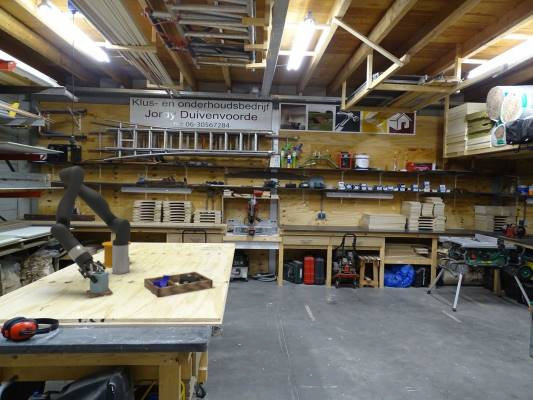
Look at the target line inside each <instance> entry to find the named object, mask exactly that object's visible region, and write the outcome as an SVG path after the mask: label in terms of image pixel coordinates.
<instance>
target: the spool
mask: <svg viewBox="0 0 533 400" xmlns="http://www.w3.org/2000/svg"><path fill="white" fill-rule="evenodd" d="M112 242H113V240H112V241H104V242H102V243H101V246H103V247H104V250H103V251H104V253H103V257H104V262H103V263H102V264H103V265H104V266H105V268H106V269H107V268H109V269H112ZM131 244H132V242H131V241H129V246H130V245H131ZM131 264H132V263H131V261H130V265H131Z"/></svg>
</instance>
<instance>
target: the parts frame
mask: <svg viewBox="0 0 533 400" xmlns="http://www.w3.org/2000/svg"><path fill="white" fill-rule="evenodd" d="M188 275H193V276H194V277H195V278H196V277H197V276H203V277H204V278H203V279H200V282H189V283H188V282H186V283H185V284H181V285H179V284H176V283H179V281H180V277H181V276H188ZM163 276H164V275H162V276H156V277H149V278H144V280H143V282H144V284H143V285H144V288H146V289H147V290H148V291H150V292H151V293H152V294H153V295H155V296H156V297H157V298H160V297H161V298H162V297H167V296H172V295H177V294H184V293H190V292H195V291H200V289H201V290H206V289H212V288H213V282H214V281H213V279H211V278H209V277H207V276H205V275H203V274H201V273H199V272H198V271H191V272H183V273H177V274H171V275H170V274H169V280H168V287H162V288H159V287H158V286H154V285H153V281H162V280H163ZM194 290H195V291H194ZM189 291H190V292H189Z"/></svg>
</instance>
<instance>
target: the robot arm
mask: <svg viewBox="0 0 533 400" xmlns="http://www.w3.org/2000/svg"><path fill="white" fill-rule="evenodd" d="M58 177H59V180H60V181H61V182H62V184H63V185H65V187H67V189H66V191H65V193H64V194H63V196H61V199H60V200H59V202H58V204H57V208H56V211H55V221H56V222H55V224H53V225H51V227H50V229H49V232H50V234H51V236H52V237H53V238H54V239H55V240H56V241H57V243H59V244H60V245H61V246H62V248H63V249H64V251H65V252H67V253H66V254H68V255H69V257H70V258H71V260H72V261H73V262H74V263H75V264H76V265H77V266H78V269H77V271H78V272H79V273H80V275H81V276H82V277H83V278H84V279H89V281H90V280H91V281H92V282H93V283H94V284H95V283H97V282H98V280H97V279H96V277H95V276H94V275H93V273H95V272H106V271H105V270H107V267H105V266H104V265H103V263H102V262H101V261H100V260H97V261H94V256H93V255H92V254H91V253H90V252H89V251H88V249H86V247H85V246H83V245H82V244H81V243H80V241H78V239H77V238H76V237H75V236H74V235H73V234H72V233H71V219H72V216H73V215H72V214H73V210H74V206H75V203H76V200H77V197H78V198H79V199H81V200H82V201H83V202H84V203H85V204H86V205H87V207H88V208H90V209H91V211H93V213H95V214H96V215H97V216H98V217H99V218H100V219H101V220H102V221H103V222H104V223H105V225H106V226H107V227H108V228H109V230H110V231H111V232H112V233H114V234H116V238H115V239H113V240H112V241H113V242H112V268H111V271H112V274H115V275H123V274H127V273H130V266H131V264H130V262H131V261H130V260H131V259H130V256H129V254H130V253H129V246H130V245H129V242H130V239H131V232H132V231H131V228H132V226H131V222H130V221H129V220H128V219H126V218H119V217H118V216H116V215H115V214H114V213H113V212H112V210H111V207H110V204H109V202H108V200H107V199H106V198H105V197H104V196H103V195H102V194H101V193H99V192H98V191H96V190H95V189H93V188H90V187H89V186H86V185H85V184H84V180H85V177H86V173H85V171H84V169H83V168H82V167H80V166H79V165H78V166H77V165H76V166H70V167H67V168H63V169H61V170H60V171H59V173H58ZM92 275H93V276H92Z"/></svg>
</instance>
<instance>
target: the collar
mask: <svg viewBox="0 0 533 400" xmlns="http://www.w3.org/2000/svg"><path fill="white" fill-rule="evenodd" d="M92 273H93V275H94V276H95V277H96V279H97V280H98V282H97V283H95V284H94V283H93V282H92V281H91V280H90V279H89V290H90V293H100V294H101V293H103V292H105V291H107V290H109V289H110V288H109V277H110V276H109V275H110V274H109V272H108V271H105V272H92ZM93 275H92V276H93Z"/></svg>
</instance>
